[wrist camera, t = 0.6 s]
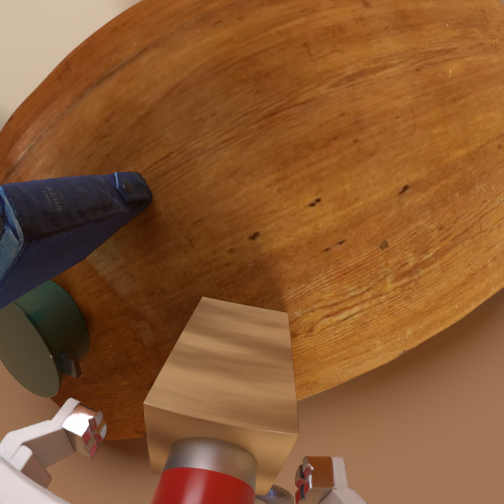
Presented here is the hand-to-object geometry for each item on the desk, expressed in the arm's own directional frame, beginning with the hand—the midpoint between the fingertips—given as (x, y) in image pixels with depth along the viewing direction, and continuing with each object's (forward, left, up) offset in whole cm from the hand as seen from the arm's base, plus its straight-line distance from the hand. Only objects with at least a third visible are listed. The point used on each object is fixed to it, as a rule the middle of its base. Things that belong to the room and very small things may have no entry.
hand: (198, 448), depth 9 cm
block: (-9, 0, -23) cm, 25 cm away
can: (-9, 0, -5) cm, 11 cm away
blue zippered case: (+3, +18, -24) cm, 29 cm away
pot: (-15, +29, -23) cm, 40 cm away
